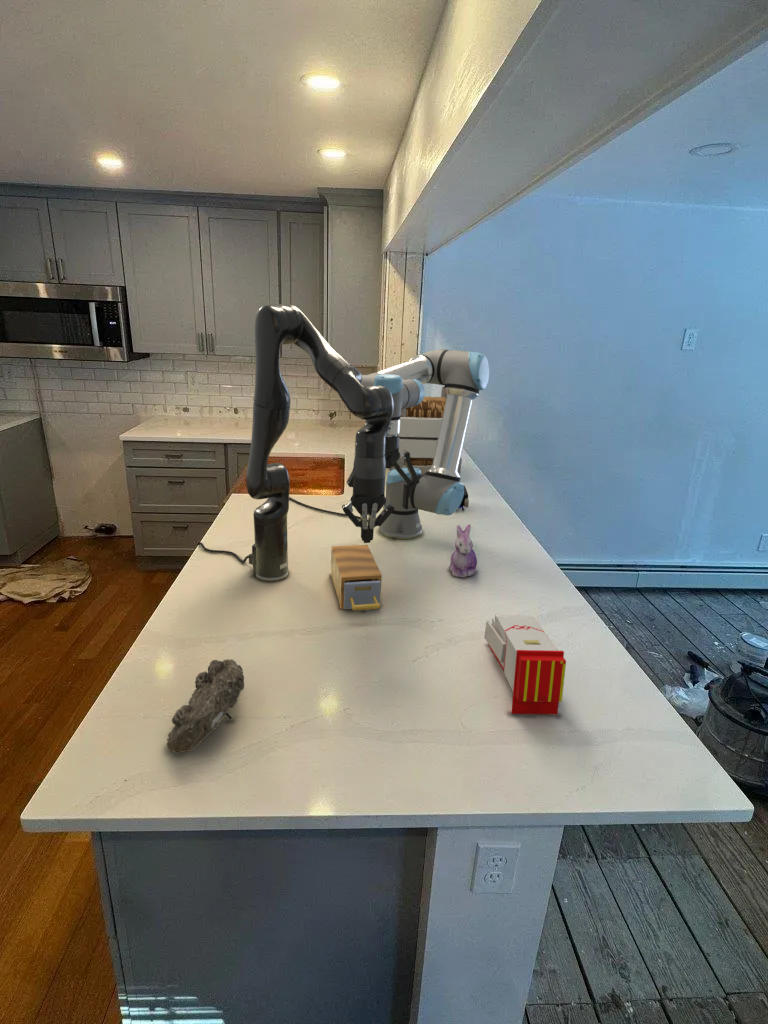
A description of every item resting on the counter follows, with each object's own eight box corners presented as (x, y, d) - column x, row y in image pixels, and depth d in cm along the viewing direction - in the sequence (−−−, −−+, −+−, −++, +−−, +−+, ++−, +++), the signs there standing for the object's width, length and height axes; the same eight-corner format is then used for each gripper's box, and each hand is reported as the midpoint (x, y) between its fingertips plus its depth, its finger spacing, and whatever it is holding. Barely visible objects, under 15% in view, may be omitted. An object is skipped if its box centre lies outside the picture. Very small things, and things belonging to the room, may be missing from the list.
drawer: (384, 617, 144) (385, 592, 141) (347, 620, 142) (348, 595, 139) (366, 574, 166) (367, 552, 164) (334, 576, 164) (334, 554, 162)
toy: (530, 600, 137) (574, 657, 108) (525, 651, 140) (567, 720, 111) (480, 599, 137) (511, 656, 107) (477, 651, 139) (506, 719, 110)
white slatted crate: (382, 463, 289) (386, 382, 275) (445, 464, 293) (451, 384, 279) (390, 482, 257) (394, 392, 243) (460, 483, 261) (468, 394, 247)
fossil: (192, 660, 117) (244, 628, 112) (224, 691, 120) (276, 661, 115) (142, 746, 98) (202, 712, 93) (182, 779, 101) (242, 748, 96)
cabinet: (380, 606, 151) (381, 575, 148) (340, 608, 149) (341, 577, 146) (366, 572, 170) (367, 544, 167) (331, 574, 167) (331, 546, 164)
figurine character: (468, 516, 224) (463, 500, 237) (471, 498, 221) (465, 483, 234) (452, 515, 224) (447, 499, 237) (453, 498, 220) (449, 482, 234)
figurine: (459, 581, 167) (464, 533, 161) (440, 567, 175) (444, 521, 170) (485, 575, 171) (490, 529, 166) (465, 562, 179) (470, 517, 174)
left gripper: (343, 478, 127) (342, 549, 133) (400, 477, 130) (396, 546, 136) (338, 469, 134) (337, 537, 140) (393, 468, 137) (389, 534, 143)
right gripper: (343, 437, 144) (341, 516, 152) (434, 436, 152) (428, 511, 159) (336, 431, 151) (335, 506, 158) (424, 430, 158) (419, 502, 165)
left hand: (366, 541), depth 138 cm, fingers closed
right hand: (382, 509), depth 158 cm, fingers open, 13 cm apart
